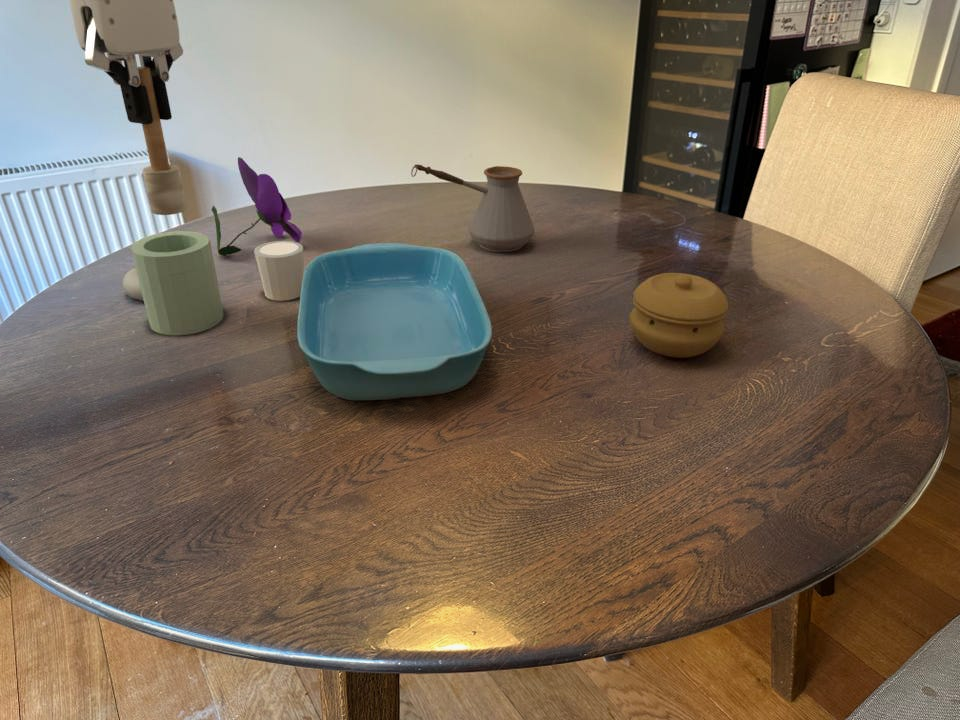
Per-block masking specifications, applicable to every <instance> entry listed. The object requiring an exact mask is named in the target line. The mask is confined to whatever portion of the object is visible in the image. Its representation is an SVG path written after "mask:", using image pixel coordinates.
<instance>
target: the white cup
mask: <svg viewBox="0 0 960 720" xmlns="http://www.w3.org/2000/svg"><path fill="white" fill-rule="evenodd" d="M253 253H254V257H255V261H256V264H257V268H258V273H259V276H260V281H261V284H262V288H263V293H264V295H265V297H266V298H267V299H269V300H272V301H278V302H283V301H290V300H295V299H297V298H300V296H301V287H302V280H303V275H304V271H305V269H304V245H303V244H301V242H300V243H297V242H296V241H294V240H293V241H292V240H274V241H269V242H265V243H262V244H260V245H257V246H256V247H255V248H254V251H253Z"/></svg>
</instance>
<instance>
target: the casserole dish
mask: <svg viewBox="0 0 960 720" xmlns="http://www.w3.org/2000/svg"><path fill="white" fill-rule="evenodd" d="M296 324H297V325H296V326H297V327H296V328H297V329H296V334H297V342H298V346H299V347H300V350H301V351H302V353H303V354H304V357H305V359H306V361H307V363H308V365H309V367H310V369H311V370H312V372H313V374H314V376H315V377H316V379H317V381H318V382H319V383H320V385H321V386H322V387H323V388H324V389H325V390H326V391H327V392H329V393H330V394H333V395H334V396H336V397H339V398H341V399H344V400H348V401H359V402H361V401H385V400H386V401H388V400H398V399H401V398H405V399H407V398H420V397H428V396H436V395H442V394H447V393H451V392H453V391H457V390H458V389H461V388H463V387H465V385H467V384H468V383H470V382H471V381H472V380H473V378H475V376H476V374H477V372H478V370H479V369H480V366H481V364H482V361H483V359H484V357H485V354H486V352H487V350H488V347H489V345H490V343H491V340H492V337H493V326H492V322H491V319H490V315H489V313H488V310H487V308H486V306H485V302H484V300H483V299H482V296H481V294H480V292H479V289H478V287H477V285H476V282H475V280H474V278H473V276H472V273H471V271H470V270H469V268H468V266H467V264H466V263H465V261H464V260H463V259H462V258H461V257H460V256H459V255H458V254H456V253H455V252H454V251H451V250H448V249H445V248H441V247H434V246H433V247H431V246H423V245H422V246H421V245H414V244H409V243H400V242H378V243H367V244H360V245H356V246H353V247H350V248H346V249H345V248H344V249H340V250H338V249H337V250H333V251H328V252H325V253H322V254H320V255H318V256H316V257H314V258H313V259H311V261H310V262H309V263H307V265H306V267H305V269H304V275H303V280H302V287H301V296H300V297H299V307H298V313H297V323H296Z"/></svg>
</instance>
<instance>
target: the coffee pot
mask: <svg viewBox="0 0 960 720" xmlns="http://www.w3.org/2000/svg"><path fill="white" fill-rule="evenodd" d="M414 169H415V173H414V174H413V172H414ZM418 171H420V172H424V173H425V174H426V175H432V176H434V177H435V178H437V179H440V180H443V181H446V182H449V183H454V184H456V185H460V186H464V187H467V188H469V189H472V190H475V191H477V192H480V193H482V195H481V197H480V200H479V202H478V205H477V206H476V209H475V211H474V213H473V215H472V217H471V220H470V222H469V225H468V229H467V230H468V233H469V235H470V237H471V239H472V240H473V241H474V242H475V243H476V244H478V246H479V247H480V248H481V249H484V250H486V251H489V252H494V253H508V252H509V253H510V252H514V251H518V250H520V249H521V248H522V247H523V246H524V245H526V244H527V243H528V242H529V241H530V240H531V239H532V238H533V235H534V233H535V226H534V223H533V221H532V218H531V215H530V213H529V210H528V208H527V205H526V202H525V199H524V197H523V194H522V191H521V188H520V186H519V180H520V177H521V176H522V175H523V171H522V170H521V169H519V168H518V167H512V166H502V165H501V166H500V165H495V166H491V167H488V168H486V169H484V170H483V174H484V176H486V181H487V184H486V186H482V185H479V184H476V183H474V182H473V183H472V182H469V181H466V180H464V179H462V178H460V177H457V176H455V175H452V174H450V173H447V172H446V171H443V170H438V169H433V168H431V166H423V165H422V164H414V165H413V167H412V168H411V172H410V175H411V177H412V178H415V176H416V175H417V173H418Z"/></svg>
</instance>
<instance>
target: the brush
mask: <svg viewBox="0 0 960 720" xmlns="http://www.w3.org/2000/svg"><path fill="white" fill-rule="evenodd" d="M137 67H138V72H139V77H140V85H141V86H145V87H146V89H147V93H148V98H149V103H150V107H151V112H152V117H153V122H152V123H151V124H141V126H142V132H143V136H144V141H145V145H146V150H147V154H148V159H149V164H150V165H148V166H146V167H144V168H142V169H141V170H142V175H143V179H144V184H145V188H146V193H147V198H148V202H149V207H150V211H151V213H152V214H153V215H158V216H171V215H178V214H181V213H184V212H185V211H187V209H188V207H187V201H186V196H185V191H184V185H183V181H182V174H181V170H180V166H179V165H177V164H170V161H169V156H168V150H167V146H166V141H165V136H164V131H163V126H162V121H161V119H160V116H159V111H158V106H157V101H156V96H155V91H154V86H153V81H152V76H151V71H150V68H149V67H141V66H137Z"/></svg>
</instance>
